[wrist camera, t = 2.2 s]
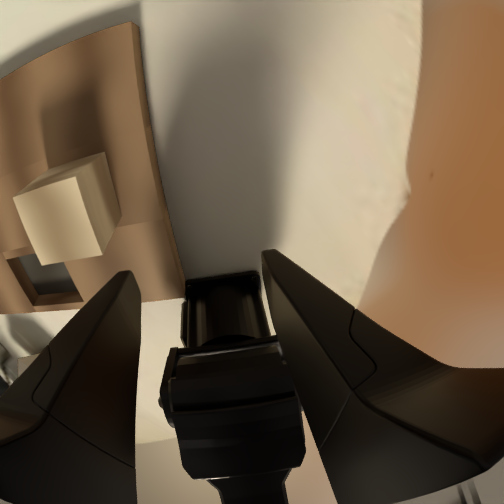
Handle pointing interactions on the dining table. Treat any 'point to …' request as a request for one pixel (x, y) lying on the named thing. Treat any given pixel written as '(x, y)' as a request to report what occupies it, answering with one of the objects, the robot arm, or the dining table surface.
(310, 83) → the dining table surface
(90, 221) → the birch cube
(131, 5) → the dining table surface
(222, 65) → the dining table surface
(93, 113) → the board
